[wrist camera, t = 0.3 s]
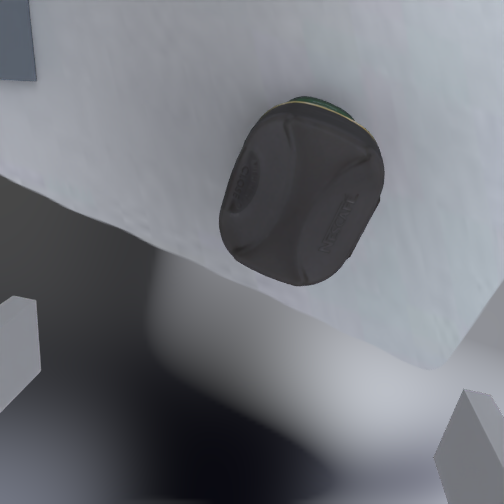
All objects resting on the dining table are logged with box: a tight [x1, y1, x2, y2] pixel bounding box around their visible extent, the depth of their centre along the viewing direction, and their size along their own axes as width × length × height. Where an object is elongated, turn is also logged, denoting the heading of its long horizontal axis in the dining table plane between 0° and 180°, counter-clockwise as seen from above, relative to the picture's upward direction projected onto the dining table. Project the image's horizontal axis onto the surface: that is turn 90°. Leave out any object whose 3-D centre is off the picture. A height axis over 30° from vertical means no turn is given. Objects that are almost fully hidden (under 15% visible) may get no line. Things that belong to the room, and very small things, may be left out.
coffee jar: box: [219, 97, 384, 286], centre depth 28 cm, size 10×8×19 cm
